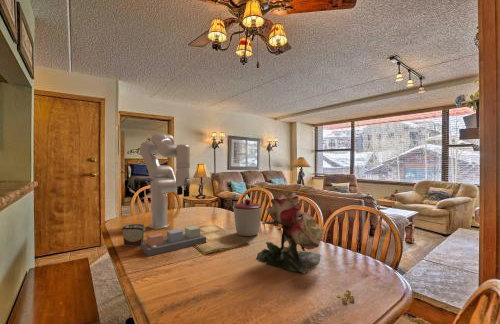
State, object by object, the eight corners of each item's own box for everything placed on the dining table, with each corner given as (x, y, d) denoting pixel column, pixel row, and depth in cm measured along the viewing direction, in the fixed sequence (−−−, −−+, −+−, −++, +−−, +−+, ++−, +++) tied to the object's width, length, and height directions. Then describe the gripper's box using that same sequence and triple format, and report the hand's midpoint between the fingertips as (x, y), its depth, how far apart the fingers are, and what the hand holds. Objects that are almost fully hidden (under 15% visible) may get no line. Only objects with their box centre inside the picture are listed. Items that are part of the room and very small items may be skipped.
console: (140, 248, 120) (140, 241, 120) (195, 236, 139) (195, 230, 139) (148, 256, 111) (148, 248, 111) (206, 242, 130) (206, 235, 130)
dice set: (349, 295, 81) (349, 289, 81) (358, 304, 76) (358, 298, 76) (335, 296, 80) (335, 290, 80) (343, 305, 75) (343, 299, 75)
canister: (227, 236, 140) (227, 200, 140) (240, 228, 157) (240, 196, 157) (256, 240, 133) (256, 202, 133) (266, 231, 150) (266, 197, 150)
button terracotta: (146, 244, 119) (146, 234, 119) (159, 242, 123) (159, 232, 123) (150, 248, 114) (150, 237, 114) (163, 245, 118) (163, 235, 118)
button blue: (166, 240, 125) (166, 230, 125) (177, 238, 129) (178, 228, 129) (171, 243, 121) (171, 233, 121) (182, 241, 124) (182, 231, 124)
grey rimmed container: (150, 242, 129) (150, 223, 129) (143, 246, 123) (143, 227, 123) (128, 241, 131) (128, 223, 131) (121, 245, 125) (121, 226, 124)
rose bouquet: (316, 278, 91) (317, 199, 91) (250, 261, 107) (251, 193, 106) (333, 256, 113) (333, 192, 112) (276, 244, 128) (277, 187, 128)
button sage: (185, 236, 132) (185, 227, 132) (195, 234, 135) (195, 225, 135) (189, 239, 127) (189, 230, 127) (200, 237, 131) (200, 228, 131)
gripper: (171, 165, 143) (171, 194, 143) (182, 166, 130) (182, 198, 130) (183, 165, 148) (183, 193, 148) (195, 166, 134) (195, 196, 134)
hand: (183, 195), depth 139 cm, fingers open, 9 cm apart
